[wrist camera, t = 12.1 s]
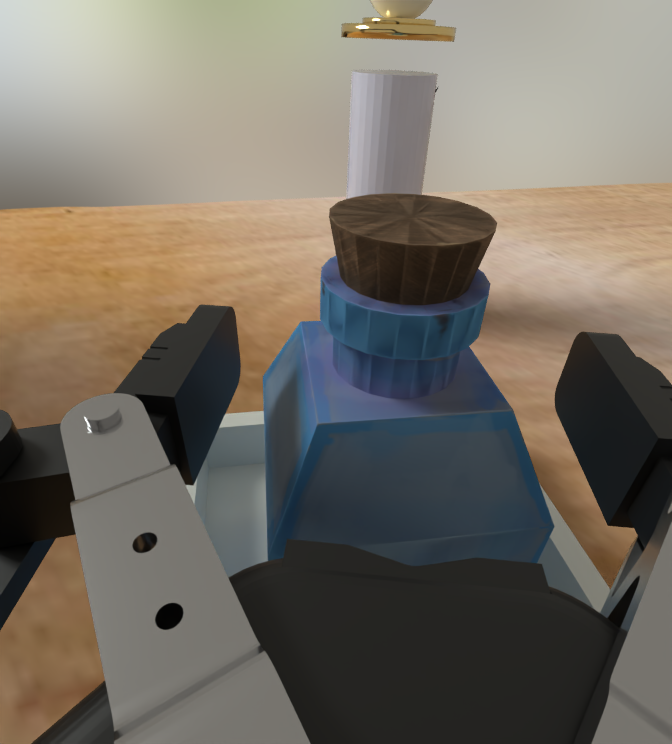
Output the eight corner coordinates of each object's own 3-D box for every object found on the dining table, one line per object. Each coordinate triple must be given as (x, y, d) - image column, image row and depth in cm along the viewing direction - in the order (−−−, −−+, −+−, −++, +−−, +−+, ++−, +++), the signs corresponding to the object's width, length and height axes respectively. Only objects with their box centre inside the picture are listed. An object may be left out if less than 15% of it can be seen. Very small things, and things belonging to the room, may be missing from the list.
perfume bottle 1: (414, 334, 31) (478, -92, 19) (327, 325, 31) (337, -94, 19) (414, 295, 35) (465, -66, 24) (338, 288, 36) (352, -68, 24)
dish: (147, 893, 10) (115, 866, 9) (193, 469, 20) (182, 417, 19) (652, 778, 12) (709, 736, 10) (465, 442, 22) (479, 393, 21)
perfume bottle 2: (428, 492, 19) (497, 176, 12) (491, 657, 14) (674, 278, 7) (272, 507, 18) (248, 176, 11) (279, 688, 13) (244, 293, 6)
